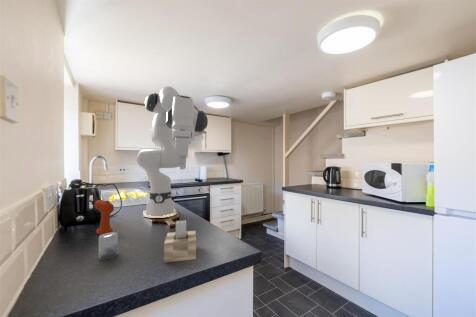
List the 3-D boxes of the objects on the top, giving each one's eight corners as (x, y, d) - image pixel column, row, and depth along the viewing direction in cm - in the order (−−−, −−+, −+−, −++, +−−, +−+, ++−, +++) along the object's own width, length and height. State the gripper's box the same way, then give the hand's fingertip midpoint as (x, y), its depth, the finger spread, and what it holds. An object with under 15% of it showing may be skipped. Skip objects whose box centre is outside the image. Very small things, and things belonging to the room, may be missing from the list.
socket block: (167, 249, 73) (167, 232, 74) (195, 246, 76) (195, 230, 76) (164, 262, 64) (164, 243, 64) (196, 259, 66) (196, 240, 66)
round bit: (102, 253, 70) (102, 233, 70) (120, 251, 71) (120, 231, 72) (95, 260, 65) (95, 239, 65) (114, 258, 66) (114, 237, 66)
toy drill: (91, 223, 99) (93, 193, 98) (115, 234, 91) (118, 201, 90) (79, 226, 94) (82, 194, 94) (104, 237, 86) (107, 203, 86)
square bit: (176, 249, 71) (176, 221, 71) (186, 248, 72) (186, 220, 72) (175, 253, 68) (175, 223, 68) (185, 252, 69) (186, 223, 69)
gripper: (176, 137, 91) (176, 168, 91) (172, 131, 71) (172, 170, 71) (191, 138, 93) (190, 168, 93) (191, 131, 73) (190, 169, 73)
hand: (182, 168), depth 82 cm, fingers open, 8 cm apart
